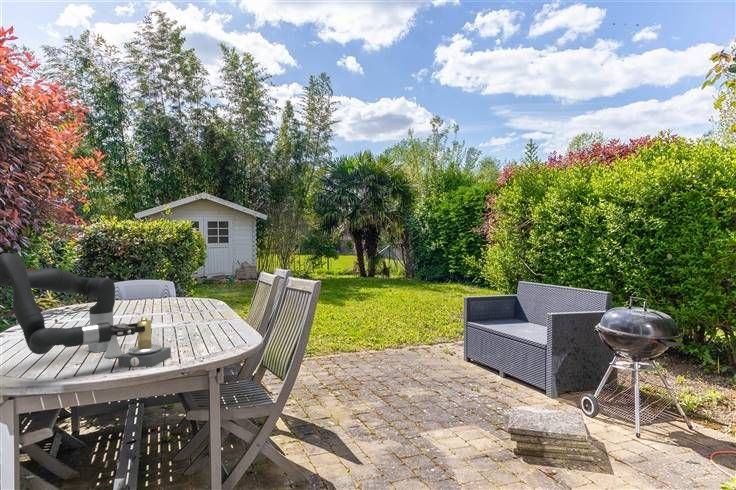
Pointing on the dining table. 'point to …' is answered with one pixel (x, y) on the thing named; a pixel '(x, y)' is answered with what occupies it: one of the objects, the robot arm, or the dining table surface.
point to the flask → (113, 348)
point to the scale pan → (143, 351)
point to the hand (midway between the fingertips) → (141, 326)
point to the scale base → (144, 358)
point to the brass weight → (144, 334)
